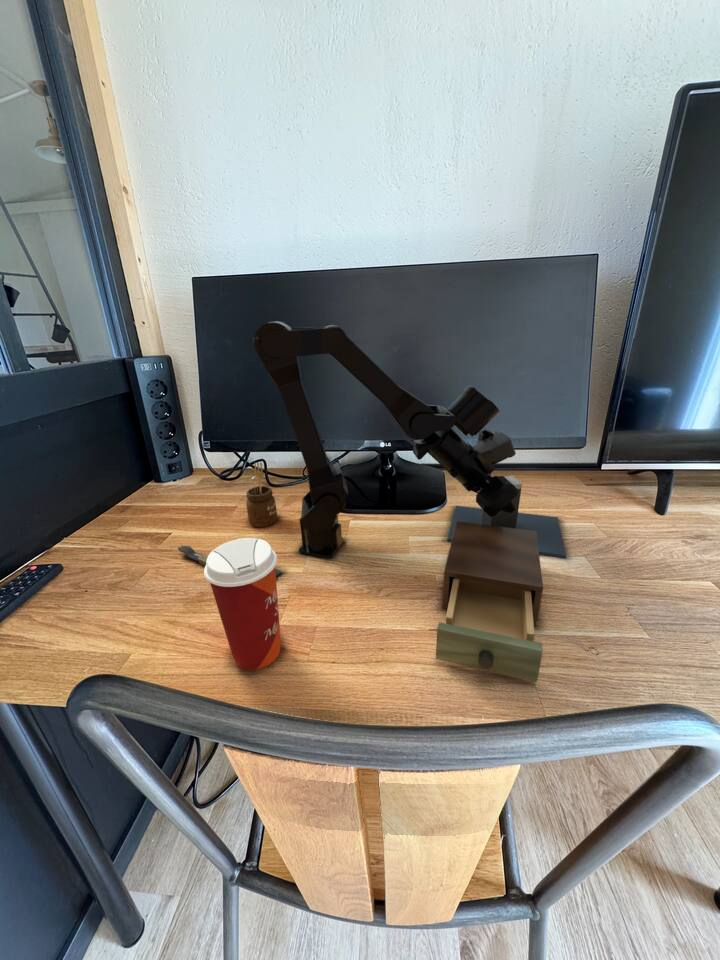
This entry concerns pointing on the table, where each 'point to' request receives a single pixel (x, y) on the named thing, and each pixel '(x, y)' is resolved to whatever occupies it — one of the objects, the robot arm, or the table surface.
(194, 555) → the tactical tomahawk
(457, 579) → the drawer
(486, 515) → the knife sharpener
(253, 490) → the utensil holder
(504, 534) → the cabinet
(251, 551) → the coffee cup
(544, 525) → the mat
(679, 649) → the table surface
